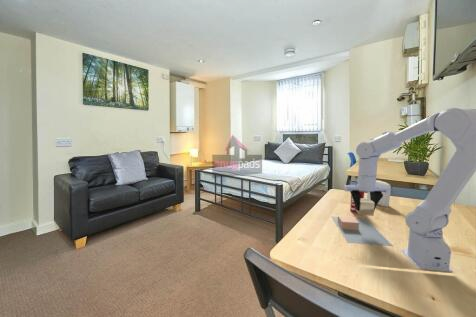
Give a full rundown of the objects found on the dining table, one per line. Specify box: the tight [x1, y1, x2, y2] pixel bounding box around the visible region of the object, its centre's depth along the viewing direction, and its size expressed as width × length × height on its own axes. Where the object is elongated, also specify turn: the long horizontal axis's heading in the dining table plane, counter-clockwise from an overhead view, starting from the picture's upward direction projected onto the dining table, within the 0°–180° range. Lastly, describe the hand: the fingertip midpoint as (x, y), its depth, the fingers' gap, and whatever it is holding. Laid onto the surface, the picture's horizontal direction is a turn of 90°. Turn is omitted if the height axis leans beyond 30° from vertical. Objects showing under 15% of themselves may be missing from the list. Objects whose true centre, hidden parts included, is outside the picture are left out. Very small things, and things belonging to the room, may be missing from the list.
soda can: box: [349, 191, 365, 215], centre depth 98 cm, size 5×5×12 cm
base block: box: [337, 215, 359, 230], centre depth 83 cm, size 6×6×3 cm
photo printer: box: [366, 179, 392, 208], centre depth 109 cm, size 10×4×12 cm, turn 28°
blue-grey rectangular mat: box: [331, 216, 393, 247], centre depth 81 cm, size 22×14×1 cm, turn 169°
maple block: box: [356, 197, 375, 217], centre depth 78 cm, size 4×4×5 cm
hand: (364, 210), depth 79 cm, fingers closed on maple block, 4 cm apart
